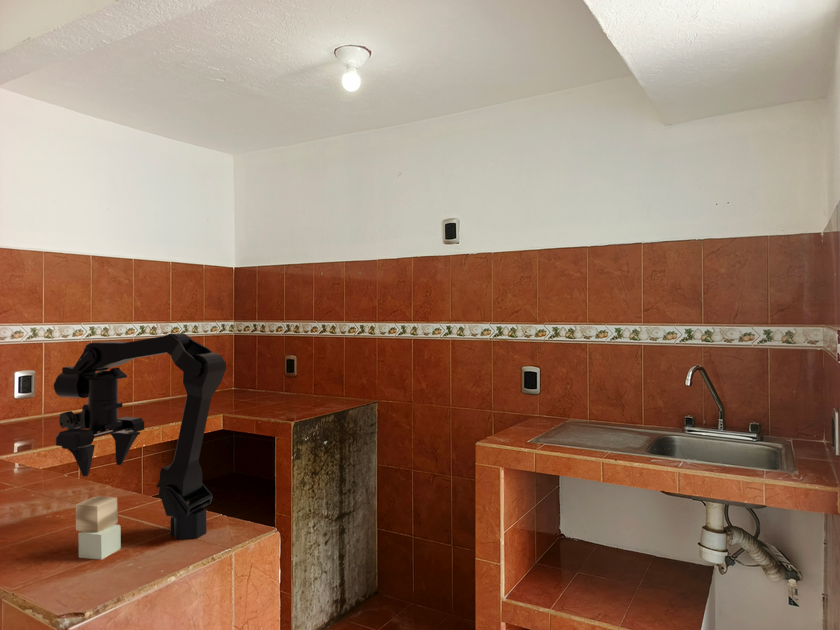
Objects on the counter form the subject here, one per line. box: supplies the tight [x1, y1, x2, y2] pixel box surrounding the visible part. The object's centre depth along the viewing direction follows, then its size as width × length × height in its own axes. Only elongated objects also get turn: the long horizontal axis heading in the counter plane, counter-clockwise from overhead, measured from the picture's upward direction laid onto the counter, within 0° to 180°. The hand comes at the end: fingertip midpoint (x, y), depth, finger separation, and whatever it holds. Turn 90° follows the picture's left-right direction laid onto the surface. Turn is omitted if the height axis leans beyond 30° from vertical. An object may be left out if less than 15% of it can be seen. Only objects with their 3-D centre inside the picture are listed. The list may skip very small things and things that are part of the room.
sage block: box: [78, 524, 122, 561], centre depth 108 cm, size 5×5×5 cm
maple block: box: [75, 495, 118, 532], centre depth 110 cm, size 5×5×5 cm
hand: (102, 470), depth 122 cm, fingers open, 9 cm apart
